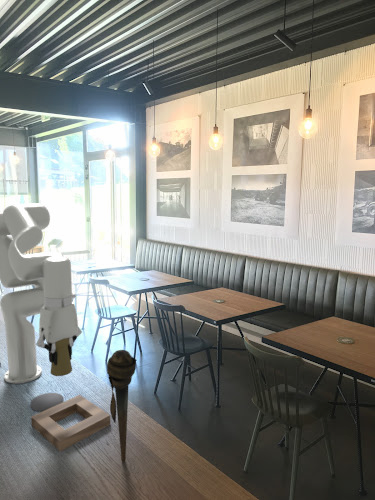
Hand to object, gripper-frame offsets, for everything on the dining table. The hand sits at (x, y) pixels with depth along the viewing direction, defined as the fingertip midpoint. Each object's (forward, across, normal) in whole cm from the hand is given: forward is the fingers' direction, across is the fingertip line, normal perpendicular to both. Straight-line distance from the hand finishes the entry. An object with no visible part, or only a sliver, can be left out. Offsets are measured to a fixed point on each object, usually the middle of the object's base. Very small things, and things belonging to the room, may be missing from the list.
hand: (60, 360), depth 114 cm
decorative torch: (+18, -1, +28) cm, 33 cm away
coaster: (+19, -1, -11) cm, 22 cm away
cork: (+3, 0, 0) cm, 3 cm away
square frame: (+18, 0, +5) cm, 19 cm away
